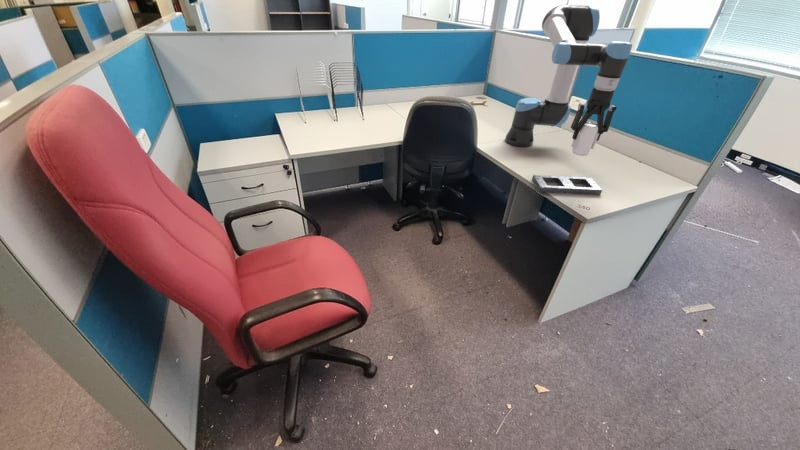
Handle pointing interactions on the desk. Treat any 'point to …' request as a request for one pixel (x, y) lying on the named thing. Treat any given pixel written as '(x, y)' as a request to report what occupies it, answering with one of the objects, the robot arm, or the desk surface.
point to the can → (586, 139)
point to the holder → (566, 185)
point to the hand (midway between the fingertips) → (582, 147)
